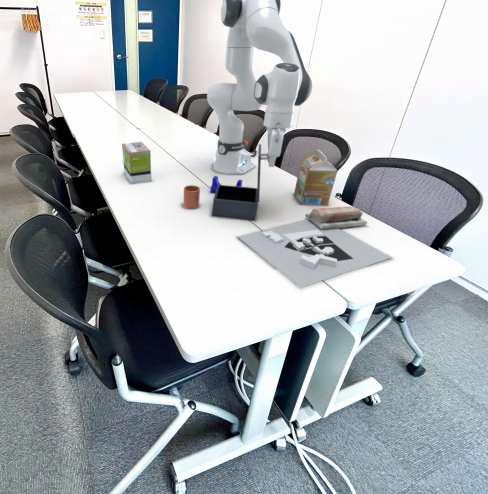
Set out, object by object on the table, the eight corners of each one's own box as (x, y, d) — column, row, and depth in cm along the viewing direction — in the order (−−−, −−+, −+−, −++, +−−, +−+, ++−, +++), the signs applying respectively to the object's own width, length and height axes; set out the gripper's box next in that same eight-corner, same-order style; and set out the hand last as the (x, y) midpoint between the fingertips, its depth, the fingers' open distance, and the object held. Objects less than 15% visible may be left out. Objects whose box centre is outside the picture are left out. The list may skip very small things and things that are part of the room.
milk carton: (293, 193, 142) (303, 148, 132) (319, 194, 141) (331, 149, 131) (300, 204, 133) (311, 157, 123) (327, 205, 132) (341, 157, 122)
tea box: (123, 173, 164) (121, 142, 156) (143, 171, 167) (142, 141, 159) (130, 184, 152) (128, 151, 144) (151, 181, 155) (151, 149, 147)
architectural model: (317, 218, 123) (319, 212, 122) (390, 258, 100) (393, 252, 99) (237, 237, 111) (238, 232, 110) (300, 288, 89) (301, 281, 88)
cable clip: (210, 192, 143) (211, 179, 140) (213, 189, 147) (214, 175, 144) (238, 197, 139) (239, 183, 136) (240, 193, 142) (242, 180, 139)
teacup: (191, 200, 136) (191, 184, 132) (202, 205, 132) (203, 188, 128) (180, 205, 133) (180, 188, 129) (191, 210, 129) (191, 192, 125)
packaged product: (325, 217, 111) (307, 205, 120) (321, 230, 114) (304, 217, 122) (371, 213, 115) (351, 201, 123) (366, 226, 117) (347, 213, 126)
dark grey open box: (212, 216, 125) (213, 199, 121) (216, 200, 137) (217, 184, 133) (255, 220, 121) (257, 203, 118) (255, 204, 133) (258, 188, 130)
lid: (258, 156, 109) (273, 155, 108) (258, 144, 121) (272, 143, 120) (256, 202, 118) (270, 202, 116) (257, 187, 129) (269, 186, 128)
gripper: (290, 128, 100) (281, 172, 107) (286, 114, 116) (279, 154, 124) (268, 127, 101) (261, 171, 108) (267, 114, 118) (261, 153, 125)
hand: (270, 162), depth 116 cm, fingers open, 8 cm apart
